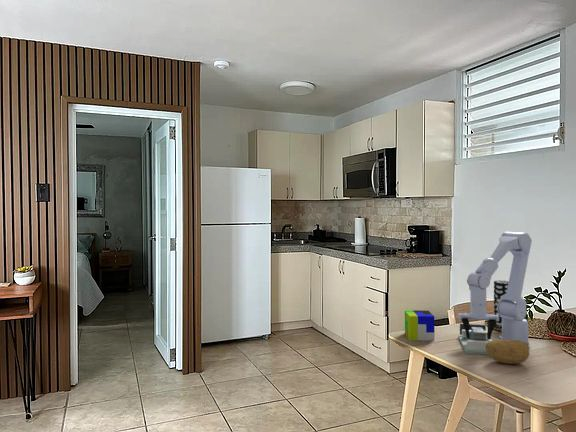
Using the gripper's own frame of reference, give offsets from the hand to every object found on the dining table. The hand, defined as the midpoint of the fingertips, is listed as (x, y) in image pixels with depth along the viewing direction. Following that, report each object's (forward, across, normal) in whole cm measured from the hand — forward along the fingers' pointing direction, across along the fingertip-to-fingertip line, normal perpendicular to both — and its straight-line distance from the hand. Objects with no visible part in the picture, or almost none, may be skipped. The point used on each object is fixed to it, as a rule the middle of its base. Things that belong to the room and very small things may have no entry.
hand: (478, 338), depth 175 cm
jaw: (+2, 0, +9) cm, 10 cm away
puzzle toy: (+4, -22, +9) cm, 24 cm away
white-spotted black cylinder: (+3, +16, +33) cm, 37 cm away
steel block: (+2, 0, 0) cm, 2 cm away
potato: (+3, +6, -17) cm, 19 cm away
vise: (+3, 0, 0) cm, 3 cm away
